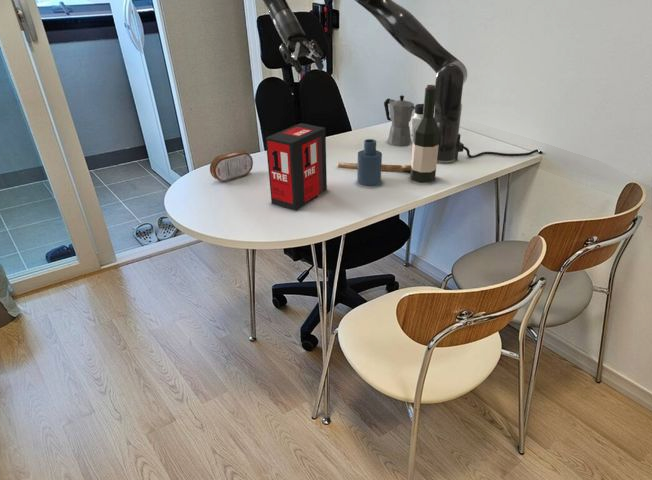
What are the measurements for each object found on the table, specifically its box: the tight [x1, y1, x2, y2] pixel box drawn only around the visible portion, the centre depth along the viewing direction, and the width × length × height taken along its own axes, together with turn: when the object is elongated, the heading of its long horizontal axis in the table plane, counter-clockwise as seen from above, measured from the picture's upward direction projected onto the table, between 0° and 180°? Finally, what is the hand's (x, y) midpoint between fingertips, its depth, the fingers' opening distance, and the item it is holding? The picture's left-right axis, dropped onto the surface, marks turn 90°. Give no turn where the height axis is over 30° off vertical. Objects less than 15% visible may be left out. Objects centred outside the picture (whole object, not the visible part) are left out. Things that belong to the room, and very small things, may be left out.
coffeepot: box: [383, 94, 416, 147], centre depth 192 cm, size 15×9×18 cm, turn 44°
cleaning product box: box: [265, 122, 328, 211], centre depth 146 cm, size 16×9×20 cm, turn 150°
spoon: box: [336, 162, 411, 172], centre depth 170 cm, size 2×5×28 cm
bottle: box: [356, 138, 383, 187], centre depth 158 cm, size 8×8×14 cm
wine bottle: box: [409, 84, 440, 184], centre depth 156 cm, size 8×8×30 cm
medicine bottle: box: [410, 102, 424, 137], centre depth 203 cm, size 7×7×12 cm
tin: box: [209, 149, 254, 182], centre depth 161 cm, size 15×3×8 cm, turn 135°
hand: (311, 70), depth 162 cm, fingers open, 8 cm apart
